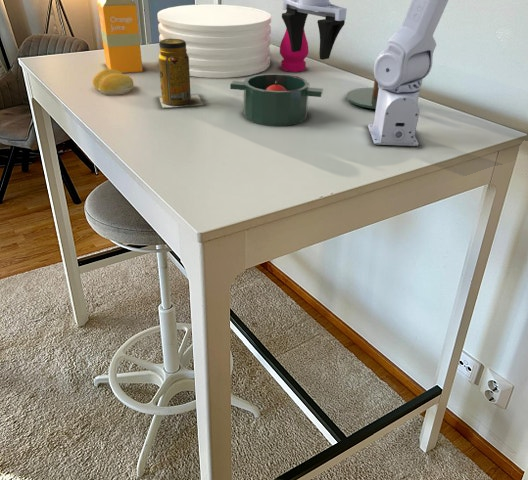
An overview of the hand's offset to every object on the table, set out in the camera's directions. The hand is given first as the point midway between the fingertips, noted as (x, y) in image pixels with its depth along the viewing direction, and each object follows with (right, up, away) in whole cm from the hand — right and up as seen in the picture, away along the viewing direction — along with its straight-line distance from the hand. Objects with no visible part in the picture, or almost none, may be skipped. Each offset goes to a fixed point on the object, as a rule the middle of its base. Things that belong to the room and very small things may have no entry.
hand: (310, 54), depth 109 cm
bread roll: (-42, -3, +12) cm, 44 cm away
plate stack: (-22, +12, +33) cm, 41 cm away
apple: (-7, -11, +1) cm, 13 cm away
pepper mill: (-2, +9, +31) cm, 32 cm away
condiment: (-27, -7, +7) cm, 28 cm away
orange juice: (-44, +8, +27) cm, 52 cm away
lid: (+15, -5, +10) cm, 19 cm away
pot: (-7, -12, +2) cm, 14 cm away
